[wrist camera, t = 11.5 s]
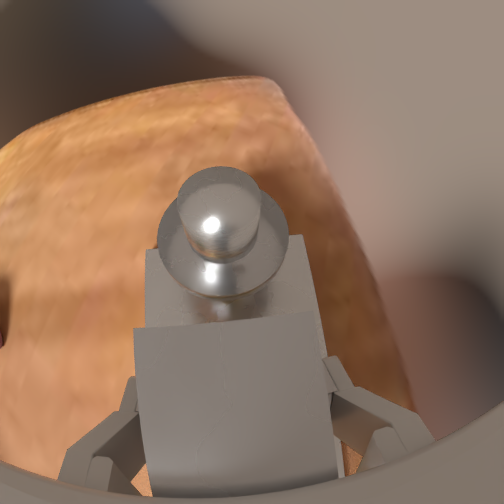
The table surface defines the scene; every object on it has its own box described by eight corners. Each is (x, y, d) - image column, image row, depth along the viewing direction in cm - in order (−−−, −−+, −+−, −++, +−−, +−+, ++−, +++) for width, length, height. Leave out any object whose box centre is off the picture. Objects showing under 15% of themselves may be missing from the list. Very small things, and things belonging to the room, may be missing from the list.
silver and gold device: (342, 491, 18) (406, 543, 8) (172, 511, 17) (129, 576, 6) (297, 227, 30) (323, 139, 19) (149, 241, 29) (107, 159, 18)
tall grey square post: (278, 423, 13) (338, 479, 4) (208, 431, 13) (153, 497, 4) (268, 358, 15) (313, 310, 6) (200, 365, 14) (133, 328, 5)
